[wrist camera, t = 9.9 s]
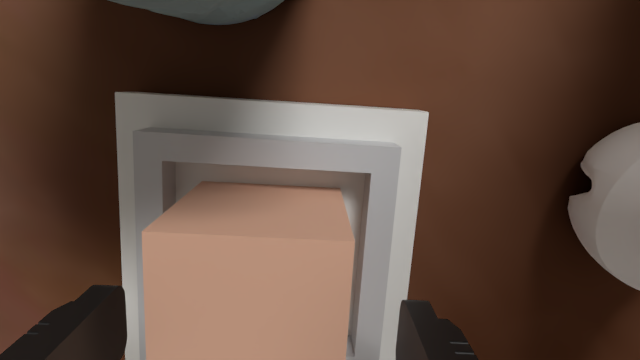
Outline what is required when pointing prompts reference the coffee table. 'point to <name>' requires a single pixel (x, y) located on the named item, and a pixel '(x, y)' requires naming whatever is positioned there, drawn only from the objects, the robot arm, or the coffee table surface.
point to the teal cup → (207, 9)
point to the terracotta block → (249, 274)
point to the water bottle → (612, 205)
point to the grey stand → (278, 169)
